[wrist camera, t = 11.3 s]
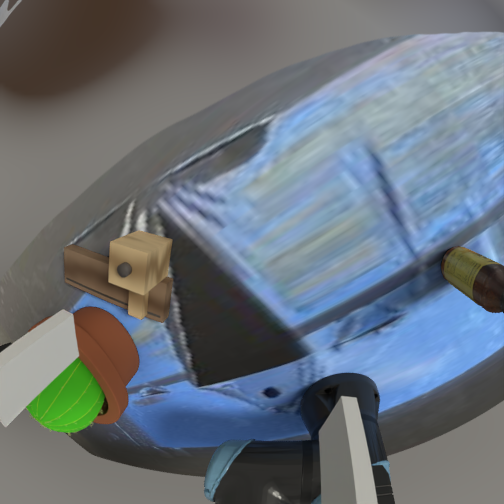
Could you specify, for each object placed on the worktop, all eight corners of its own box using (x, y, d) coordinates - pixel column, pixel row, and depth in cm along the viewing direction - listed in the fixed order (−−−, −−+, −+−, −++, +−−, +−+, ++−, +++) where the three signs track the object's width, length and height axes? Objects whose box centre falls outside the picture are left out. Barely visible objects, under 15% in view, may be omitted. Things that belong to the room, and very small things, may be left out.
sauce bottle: (471, 263, 34) (546, 312, 15) (447, 288, 36) (517, 350, 17) (456, 235, 34) (541, 274, 14) (432, 260, 35) (510, 316, 16)
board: (168, 316, 43) (162, 323, 41) (72, 277, 44) (64, 282, 42) (173, 278, 41) (166, 284, 39) (72, 244, 43) (64, 247, 40)
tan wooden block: (163, 310, 43) (138, 337, 34) (133, 299, 43) (105, 322, 35) (172, 239, 40) (143, 255, 31) (139, 230, 40) (106, 243, 31)
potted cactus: (168, 382, 48) (113, 478, 24) (99, 384, 52) (44, 450, 28) (117, 283, 43) (13, 357, 19) (54, 304, 47) (-23, 357, 23)
